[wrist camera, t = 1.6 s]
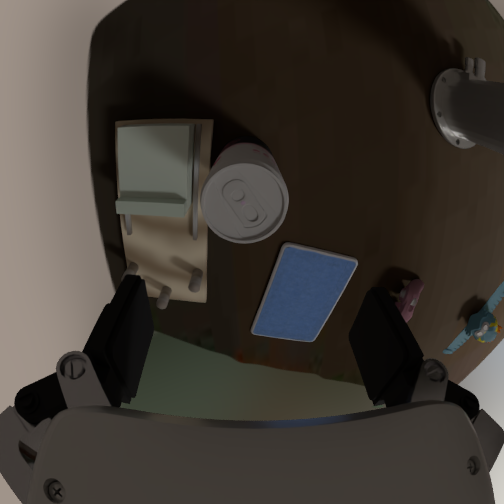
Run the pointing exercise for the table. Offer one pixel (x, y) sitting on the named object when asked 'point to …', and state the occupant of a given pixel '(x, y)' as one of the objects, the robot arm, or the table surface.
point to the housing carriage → (155, 169)
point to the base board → (171, 231)
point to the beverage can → (244, 192)
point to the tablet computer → (302, 292)
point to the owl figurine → (480, 323)
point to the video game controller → (409, 298)
